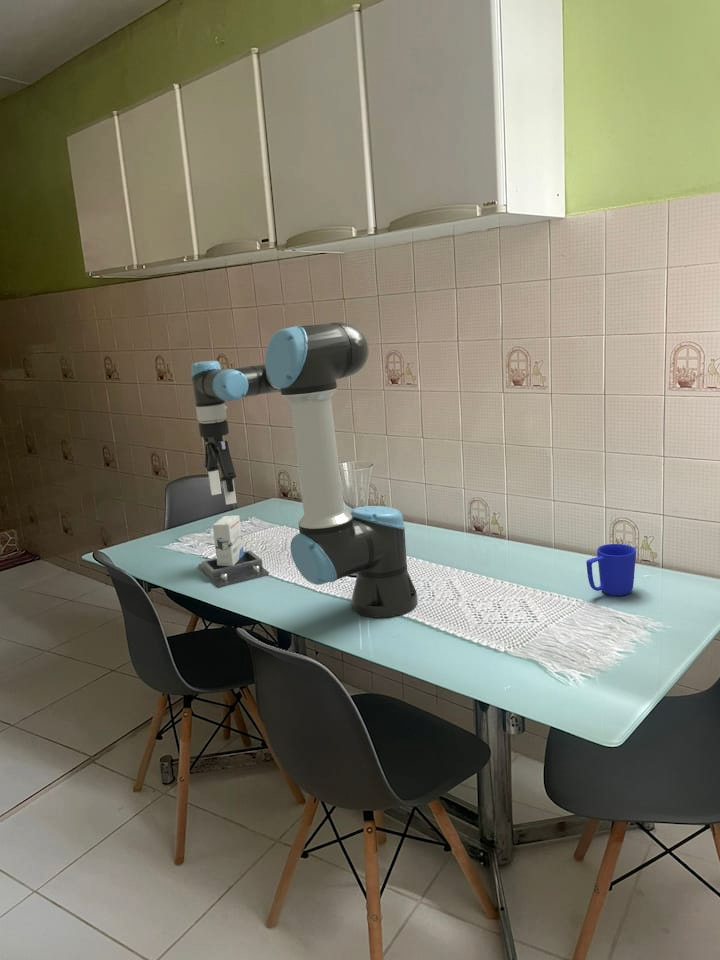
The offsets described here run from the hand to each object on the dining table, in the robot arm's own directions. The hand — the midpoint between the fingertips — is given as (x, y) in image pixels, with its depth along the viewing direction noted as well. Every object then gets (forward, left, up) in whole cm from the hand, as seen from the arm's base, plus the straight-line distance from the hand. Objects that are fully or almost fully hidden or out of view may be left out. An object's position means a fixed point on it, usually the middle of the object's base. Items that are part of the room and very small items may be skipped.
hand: (223, 498), depth 196 cm
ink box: (0, 0, -18) cm, 18 cm away
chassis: (0, 0, -21) cm, 21 cm away
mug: (-74, -65, -21) cm, 100 cm away
